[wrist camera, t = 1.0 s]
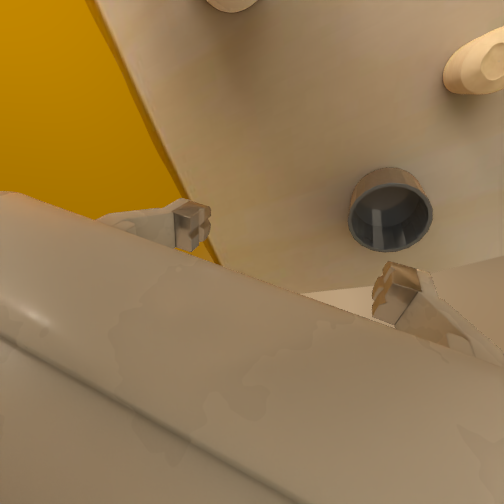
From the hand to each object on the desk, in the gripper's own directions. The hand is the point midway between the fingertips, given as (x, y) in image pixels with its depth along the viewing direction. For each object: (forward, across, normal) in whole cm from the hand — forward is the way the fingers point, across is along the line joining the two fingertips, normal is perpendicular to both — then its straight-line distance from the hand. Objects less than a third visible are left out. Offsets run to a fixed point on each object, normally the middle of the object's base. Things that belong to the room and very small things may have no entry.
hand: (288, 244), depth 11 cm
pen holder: (+37, -9, +8) cm, 39 cm away
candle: (+37, -12, -10) cm, 40 cm away
